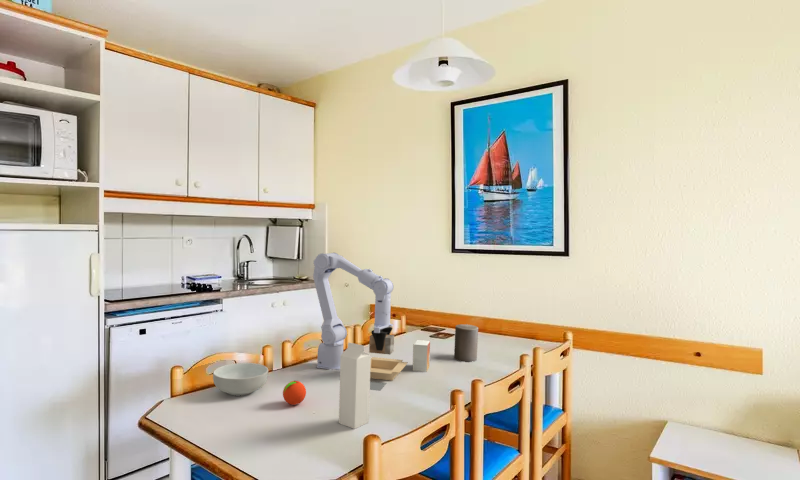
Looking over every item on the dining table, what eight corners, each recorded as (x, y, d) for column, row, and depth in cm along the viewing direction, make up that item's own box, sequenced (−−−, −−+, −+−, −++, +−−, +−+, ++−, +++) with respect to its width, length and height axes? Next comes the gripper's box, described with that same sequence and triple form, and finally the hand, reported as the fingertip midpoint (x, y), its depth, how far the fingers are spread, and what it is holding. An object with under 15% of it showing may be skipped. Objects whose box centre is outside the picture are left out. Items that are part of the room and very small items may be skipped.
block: (369, 352, 173) (369, 336, 173) (373, 349, 178) (373, 333, 177) (390, 354, 171) (390, 338, 171) (393, 351, 176) (394, 335, 176)
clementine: (291, 411, 137) (292, 387, 137) (274, 406, 141) (275, 382, 141) (310, 403, 144) (311, 380, 144) (294, 398, 148) (294, 375, 148)
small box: (426, 373, 177) (427, 345, 177) (412, 371, 179) (413, 344, 178) (429, 367, 185) (430, 340, 185) (415, 365, 186) (416, 339, 186)
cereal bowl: (215, 404, 141) (216, 380, 141) (210, 387, 156) (210, 365, 156) (272, 396, 149) (273, 374, 149) (262, 380, 164) (262, 360, 164)
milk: (353, 417, 135) (355, 340, 134) (369, 422, 131) (371, 343, 131) (338, 423, 130) (340, 343, 129) (354, 429, 126) (356, 347, 126)
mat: (346, 387, 159) (346, 386, 159) (354, 380, 166) (354, 379, 166) (380, 391, 156) (380, 390, 156) (386, 384, 163) (386, 383, 163)
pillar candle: (451, 360, 196) (452, 324, 196) (457, 354, 205) (458, 320, 205) (474, 363, 192) (475, 327, 192) (479, 357, 202) (481, 322, 201)
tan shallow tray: (350, 379, 168) (350, 369, 168) (366, 365, 185) (366, 356, 185) (397, 384, 163) (397, 374, 163) (408, 369, 181) (409, 360, 181)
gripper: (387, 316, 166) (386, 354, 166) (397, 309, 180) (396, 344, 180) (368, 314, 167) (367, 352, 168) (380, 308, 182) (379, 343, 182)
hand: (381, 348), depth 174 cm, fingers closed on block, 5 cm apart
